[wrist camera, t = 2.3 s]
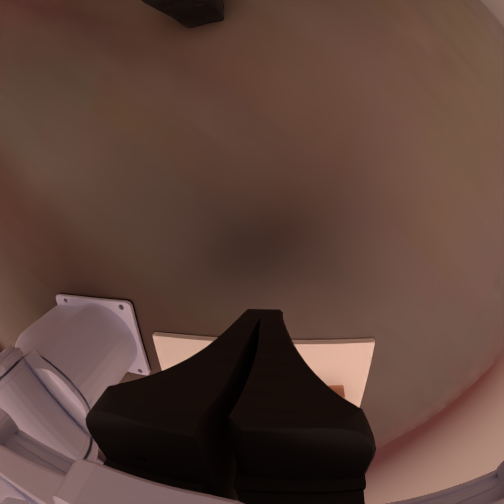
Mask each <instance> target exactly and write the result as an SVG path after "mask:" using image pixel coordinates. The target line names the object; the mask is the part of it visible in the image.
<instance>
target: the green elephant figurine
mask: <svg viewBox="0 0 504 504" xmlns="http://www.w3.org/2000/svg"><path fill="white" fill-rule="evenodd" d="M142 1H143V2H144V3H146V4H148V5H150V6H152V7H154V8H156V9H157V10H159V11H161V12H163V13H165V14H167V15H169V16H171V17H173V18H174V19H176V20H177V21H178V22H179V23H181V24H182V25H184V26H185V27H194V26H198V25H202V24H205V23H208V22H215V21H221V20H223V18H224V17H223V8H224V5H223V1H222V0H142Z"/></svg>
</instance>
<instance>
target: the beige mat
mask: <svg viewBox="0 0 504 504" xmlns="http://www.w3.org/2000/svg"><path fill="white" fill-rule="evenodd" d="M152 336H153V340H154V344H155V347H156V351H157V355H158V358H159V362H160V366H161V369H162V371H163V370H165V369H168V368H170V367H172V366H174V365H176V364H178V363H180V362H182V361H184V360H186V359H188V358H190V357H191V356H193V355H194V354H196V353H198V352H199V351H201V350H202V349H204V348H205V347H207V346H208V345H209V344H211V343H212V342H213V341H214V340H215V339H217V338H218V337H209V336H196V335H184V334H173V333H163V332H155V333H154V334H153V335H152ZM292 342H293V343H294V345H295V347H296V349H297V350H298V352H299V353H300V355H301V356H302V358H303V359H304V361H305V362H306V363H307V364H308V366H309V367H310V368H311V369H312V370H313V372H314V373H315V374H316V375H317V376H318V377H319V378H320V379H321V380H322V381H323V382H324V383H325V384H327V385H328V386H331V385H343V387H344V394H345V399H346V400H348V401H349V402H351V403H353V404H354V405H356V406H357V407H360V403H361V400H362V396H363V392H364V388H365V384H366V380H367V376H368V372H369V368H370V363H371V359H372V354H373V350H374V345H375V341H374V338H362V339H332V340H292Z"/></svg>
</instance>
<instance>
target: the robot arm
mask: <svg viewBox="0 0 504 504" xmlns="http://www.w3.org/2000/svg"><path fill="white" fill-rule="evenodd" d="M56 301H57V304H58V305H56V306H55V307H54V308H52V309H51V310H50V311H48V312H47V313H46V314H45V315H43V316H42V317H41V318H39V319H38V320H37V321H35V322H34V323H33V324H32V325H30V326H29V327H28V328H26V329H25V330H24V331H23V332H22V333H21V334H20V336H19V337H18V339H17V341H16V344H15V347H12V346H9V347H8V348H6V349H5V350H4V351H2V352H1V353H0V503H1V502H2V501H3V500H4V499H5V498H6V497H13V498H18V499H22V500H25V501H27V502H28V503H29V504H365V503H364V491H363V490H364V489H365V488H366V480H365V473H366V471H367V469H368V468H369V466H370V463H371V462H372V460H373V458H374V455H375V451H376V446H375V440H374V436H373V433H372V431H371V428H370V425H369V423H368V420H367V418H366V416H365V414H364V412H363V410H362V409H361V408H359V407H357V406H356V405H354V404H353V403H351V402H349V401H348V400H346V399H344V398H343V397H341V396H340V395H338V394H337V393H336V392H335V391H333V390H332V389H331V388H330V387H329V386H328V385H327V384H325V383H324V382H323V381H322V380H321V379H320V378H319V377H318V376H317V375H316V374H315V373H314V372H313V370H312V369H311V368H310V367H309V366H308V364H307V363H306V362H305V361H304V359H303V358H302V356H301V355H300V353H299V352H298V350H297V349H296V347H295V345H294V343H293V342H292V340H291V338H290V336H289V333H288V331H287V329H286V326H285V324H284V320H283V312H282V311H281V310H263V309H248V310H246V311H245V312H244V313H243V314H242V315H241V316H240V317H239V318H238V319H237V320H236V321H235V322H234V323H233V324H232V325H231V326H230V327H229V328H228V329H227V330H226V331H225V332H224V333H223V334H222V335H220V336H219V337H218V338H217V339H215V340H214V341H213V342H212V343H211V344H209V345H208V346H207V347H205V348H204V349H202V350H201V351H199V352H198V353H196V354H194V355H193V356H191V357H190V358H188V359H186V360H184V361H182V362H180V363H178V364H176V365H174V366H172V367H170V368H168V369H165V370H163V371H161V372H158V373H155V374H153V375H150V376H147V377H144V378H141V379H137V380H133V381H129V382H125V383H121V384H118V383H119V382H120V381H121V379H122V378H123V377H124V375H125V374H126V372H131V373H136V374H142V375H149V374H150V372H151V370H150V367H149V364H148V361H147V357H146V354H145V350H144V347H143V344H142V340H141V336H140V333H139V329H138V325H137V321H136V317H135V313H134V309H133V306H132V304H131V302H129V301H125V300H114V299H103V298H93V297H84V296H75V295H66V294H58V295H56ZM121 305H122V306H123V307H124V308H123V307H122V306H121ZM98 446H99V448H100V449H101V451H102V452H103V453H104V455H105V456H106V458H107V459H106V461H105V462H104V464H100V463H97V462H96V460H97V456H98ZM387 504H504V461H503V462H502V463H501V464H500V465H499V466H498V468H497V470H495V471H493V472H490V473H488V474H486V475H483V476H481V477H478V478H476V479H473V480H471V481H468V482H465V483H463V484H460V485H457V486H454V487H451V488H448V489H445V490H441V491H438V492H435V493H431V494H428V495H424V496H420V497H416V498H411V499H407V500H403V501H397V502H393V503H387Z"/></svg>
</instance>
